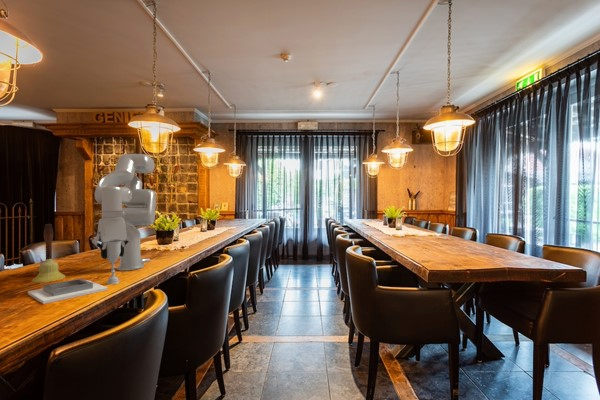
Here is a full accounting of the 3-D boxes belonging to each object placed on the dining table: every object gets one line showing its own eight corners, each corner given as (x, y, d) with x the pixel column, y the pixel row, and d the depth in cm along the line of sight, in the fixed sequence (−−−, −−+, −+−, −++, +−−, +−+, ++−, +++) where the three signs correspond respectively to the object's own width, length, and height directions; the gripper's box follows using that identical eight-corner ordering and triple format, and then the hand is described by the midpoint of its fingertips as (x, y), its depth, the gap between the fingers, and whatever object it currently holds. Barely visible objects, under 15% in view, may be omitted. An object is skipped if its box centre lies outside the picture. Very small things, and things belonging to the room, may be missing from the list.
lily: (46, 278, 148) (58, 258, 152) (18, 270, 145) (31, 250, 149) (54, 280, 158) (64, 262, 162) (28, 272, 155) (39, 254, 159)
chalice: (99, 283, 132) (99, 241, 132) (115, 280, 138) (115, 239, 138) (110, 285, 128) (109, 242, 128) (126, 281, 134) (125, 240, 134)
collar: (81, 283, 129) (80, 278, 129) (92, 288, 121) (92, 283, 121) (43, 290, 119) (43, 285, 119) (53, 296, 112) (53, 290, 112)
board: (88, 282, 134) (88, 280, 134) (107, 290, 122) (107, 287, 122) (27, 293, 118) (27, 291, 118) (43, 304, 106) (43, 301, 106)
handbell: (24, 283, 134) (24, 225, 134) (40, 276, 145) (39, 223, 145) (58, 281, 137) (57, 224, 137) (70, 274, 149) (70, 222, 149)
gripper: (129, 214, 142) (129, 253, 142) (85, 216, 128) (86, 259, 128) (137, 214, 138) (137, 255, 138) (92, 216, 124) (93, 261, 124)
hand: (112, 257), depth 133 cm, fingers closed on chalice, 5 cm apart
